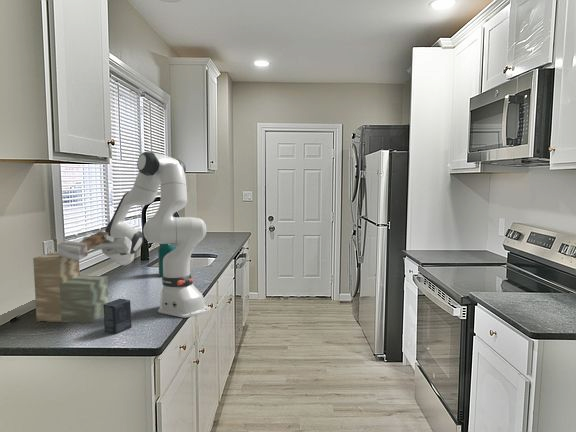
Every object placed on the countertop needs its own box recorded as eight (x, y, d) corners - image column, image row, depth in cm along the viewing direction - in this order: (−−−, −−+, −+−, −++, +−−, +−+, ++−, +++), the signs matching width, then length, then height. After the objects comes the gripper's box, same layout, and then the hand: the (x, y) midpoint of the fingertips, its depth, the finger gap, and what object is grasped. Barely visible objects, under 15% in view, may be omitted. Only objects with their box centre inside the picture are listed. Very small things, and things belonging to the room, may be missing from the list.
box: (120, 325, 161) (119, 298, 160) (131, 327, 159) (131, 299, 158) (104, 332, 154) (102, 303, 153) (115, 334, 152) (114, 305, 151)
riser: (58, 310, 180) (55, 251, 177) (108, 311, 178) (106, 252, 176) (36, 321, 166) (33, 258, 163) (91, 322, 164) (88, 258, 162)
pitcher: (162, 273, 247) (161, 235, 245) (177, 273, 247) (176, 236, 245) (157, 277, 238) (155, 238, 236) (172, 277, 237) (171, 238, 235)
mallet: (95, 236, 187) (94, 226, 185) (113, 239, 186) (113, 229, 184) (58, 256, 165) (57, 244, 164) (79, 260, 164) (78, 248, 162)
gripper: (92, 240, 196) (76, 229, 184) (135, 241, 195) (122, 229, 182) (89, 253, 193) (73, 242, 181) (132, 254, 192) (120, 243, 180)
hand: (98, 236), depth 182 cm, fingers closed on mallet, 4 cm apart
